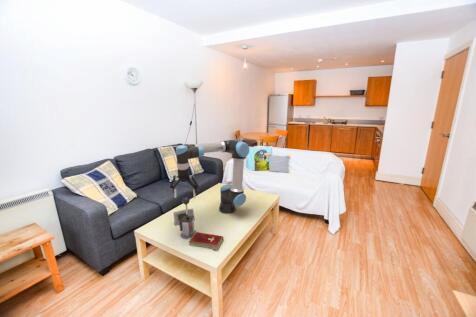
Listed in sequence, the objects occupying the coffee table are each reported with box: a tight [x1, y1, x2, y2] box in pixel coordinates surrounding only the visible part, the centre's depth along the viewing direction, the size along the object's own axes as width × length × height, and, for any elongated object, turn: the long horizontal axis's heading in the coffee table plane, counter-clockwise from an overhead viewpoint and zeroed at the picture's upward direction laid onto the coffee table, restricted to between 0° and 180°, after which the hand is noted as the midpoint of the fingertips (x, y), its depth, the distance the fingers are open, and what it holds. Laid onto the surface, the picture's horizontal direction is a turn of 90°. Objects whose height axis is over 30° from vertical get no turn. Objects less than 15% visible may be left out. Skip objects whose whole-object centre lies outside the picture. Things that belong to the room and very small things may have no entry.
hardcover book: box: [188, 231, 224, 251], centre depth 153 cm, size 12×21×4 cm, turn 75°
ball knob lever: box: [182, 196, 190, 219], centre depth 157 cm, size 5×5×19 cm
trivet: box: [180, 229, 197, 240], centre depth 162 cm, size 12×12×1 cm
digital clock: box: [173, 208, 196, 226], centre depth 178 cm, size 16×9×11 cm, turn 102°
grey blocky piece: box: [179, 215, 195, 237], centre depth 161 cm, size 10×8×13 cm
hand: (185, 197), depth 154 cm, fingers open, 13 cm apart
